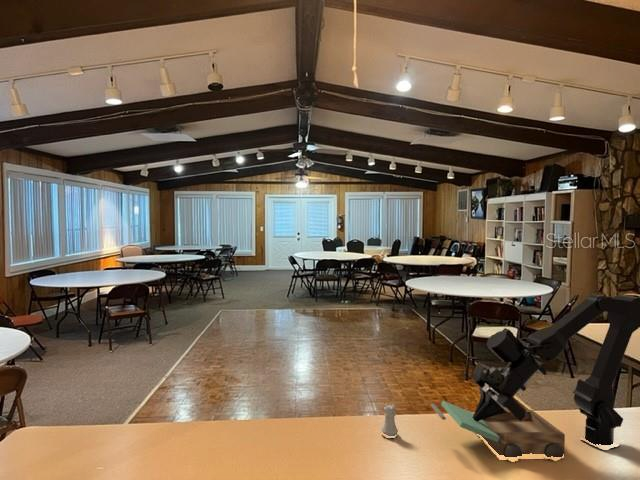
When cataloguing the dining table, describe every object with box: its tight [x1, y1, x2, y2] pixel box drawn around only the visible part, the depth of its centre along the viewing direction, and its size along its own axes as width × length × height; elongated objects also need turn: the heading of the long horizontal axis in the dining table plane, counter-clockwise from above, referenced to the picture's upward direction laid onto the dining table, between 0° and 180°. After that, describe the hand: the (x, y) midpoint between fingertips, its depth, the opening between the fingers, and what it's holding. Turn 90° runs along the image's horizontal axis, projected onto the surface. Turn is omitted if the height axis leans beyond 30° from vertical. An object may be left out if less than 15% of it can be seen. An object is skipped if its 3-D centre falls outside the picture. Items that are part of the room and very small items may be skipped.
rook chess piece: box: [381, 403, 399, 436], centre depth 111 cm, size 4×4×8 cm
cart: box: [482, 409, 566, 457], centre depth 107 cm, size 16×16×6 cm
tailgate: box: [430, 400, 500, 442], centre depth 106 cm, size 2×13×14 cm
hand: (474, 419), depth 106 cm, fingers closed, pressing on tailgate
